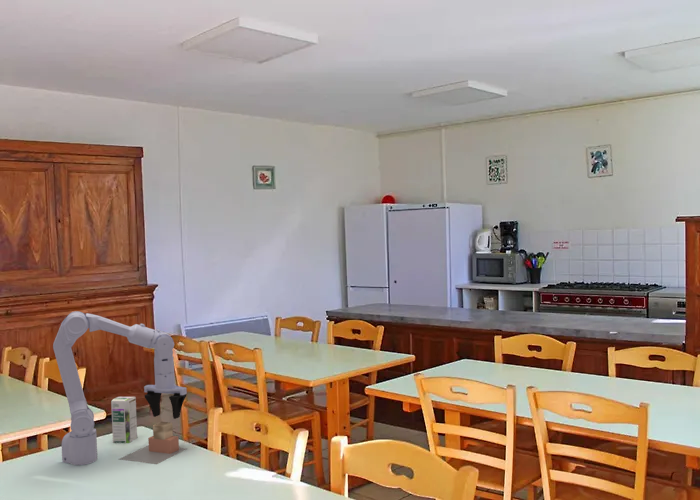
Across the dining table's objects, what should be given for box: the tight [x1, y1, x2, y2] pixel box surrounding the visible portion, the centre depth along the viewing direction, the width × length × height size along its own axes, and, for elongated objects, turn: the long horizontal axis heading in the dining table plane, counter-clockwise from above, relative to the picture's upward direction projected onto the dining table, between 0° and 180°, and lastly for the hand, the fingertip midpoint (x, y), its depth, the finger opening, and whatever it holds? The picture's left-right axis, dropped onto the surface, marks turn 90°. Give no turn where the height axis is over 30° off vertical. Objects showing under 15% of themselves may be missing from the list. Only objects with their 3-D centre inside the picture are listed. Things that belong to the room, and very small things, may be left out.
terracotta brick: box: [147, 435, 180, 454], centre depth 198 cm, size 8×4×4 cm, turn 67°
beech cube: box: [152, 421, 174, 440], centre depth 198 cm, size 4×4×4 cm
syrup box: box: [110, 396, 138, 444], centre depth 210 cm, size 6×6×14 cm
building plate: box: [119, 444, 187, 465], centre depth 196 cm, size 14×14×1 cm
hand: (166, 416), depth 200 cm, fingers open, 7 cm apart
